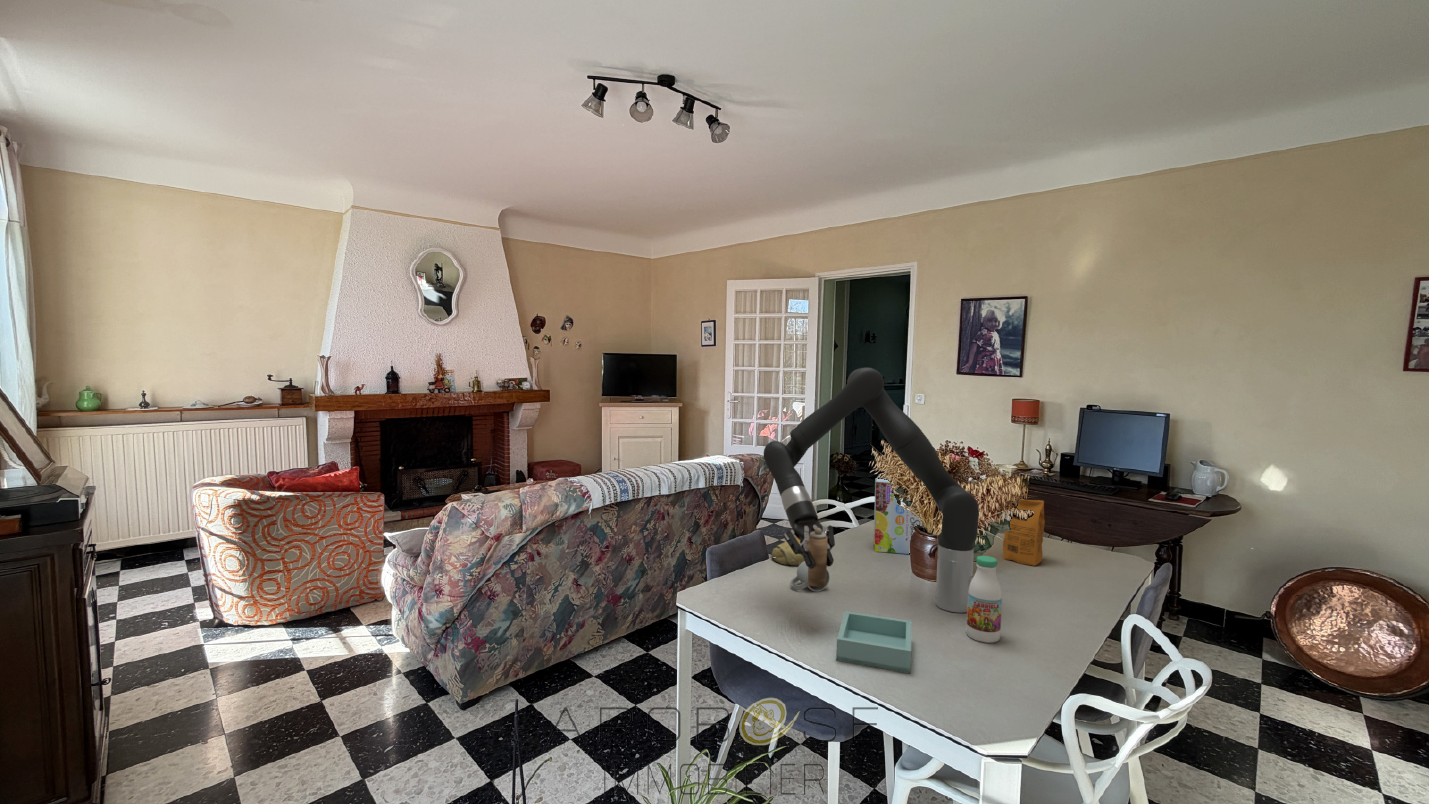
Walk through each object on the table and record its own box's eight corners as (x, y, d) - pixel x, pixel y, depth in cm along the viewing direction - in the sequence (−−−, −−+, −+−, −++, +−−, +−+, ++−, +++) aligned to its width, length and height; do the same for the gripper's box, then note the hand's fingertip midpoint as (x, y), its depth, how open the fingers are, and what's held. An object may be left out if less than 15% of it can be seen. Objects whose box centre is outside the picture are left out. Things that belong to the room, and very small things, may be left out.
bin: (910, 640, 144) (911, 621, 144) (910, 673, 129) (911, 651, 129) (844, 630, 150) (844, 611, 149) (836, 660, 134) (836, 638, 134)
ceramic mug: (815, 580, 183) (815, 556, 183) (829, 590, 176) (830, 564, 175) (785, 585, 179) (785, 560, 179) (798, 595, 172) (798, 569, 171)
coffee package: (1009, 552, 213) (1012, 492, 212) (1046, 561, 204) (1050, 499, 203) (997, 558, 207) (1000, 496, 205) (1035, 568, 198) (1039, 503, 196)
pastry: (819, 560, 202) (820, 537, 202) (804, 570, 192) (805, 546, 191) (782, 552, 210) (782, 530, 209) (765, 562, 199) (766, 539, 199)
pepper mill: (827, 581, 150) (828, 526, 149) (824, 587, 146) (826, 531, 145) (809, 579, 152) (810, 524, 151) (806, 585, 148) (807, 529, 147)
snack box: (934, 549, 215) (937, 480, 213) (937, 557, 207) (940, 485, 205) (872, 544, 220) (875, 476, 218) (873, 552, 211) (876, 481, 210)
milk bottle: (961, 628, 151) (964, 552, 150) (991, 629, 151) (995, 553, 150) (973, 643, 144) (977, 563, 142) (1005, 644, 143) (1010, 563, 142)
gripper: (779, 501, 152) (801, 562, 142) (827, 497, 157) (852, 556, 147) (769, 516, 157) (790, 576, 147) (816, 512, 162) (840, 569, 152)
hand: (821, 565), depth 147 cm, fingers closed on pepper mill, 4 cm apart
